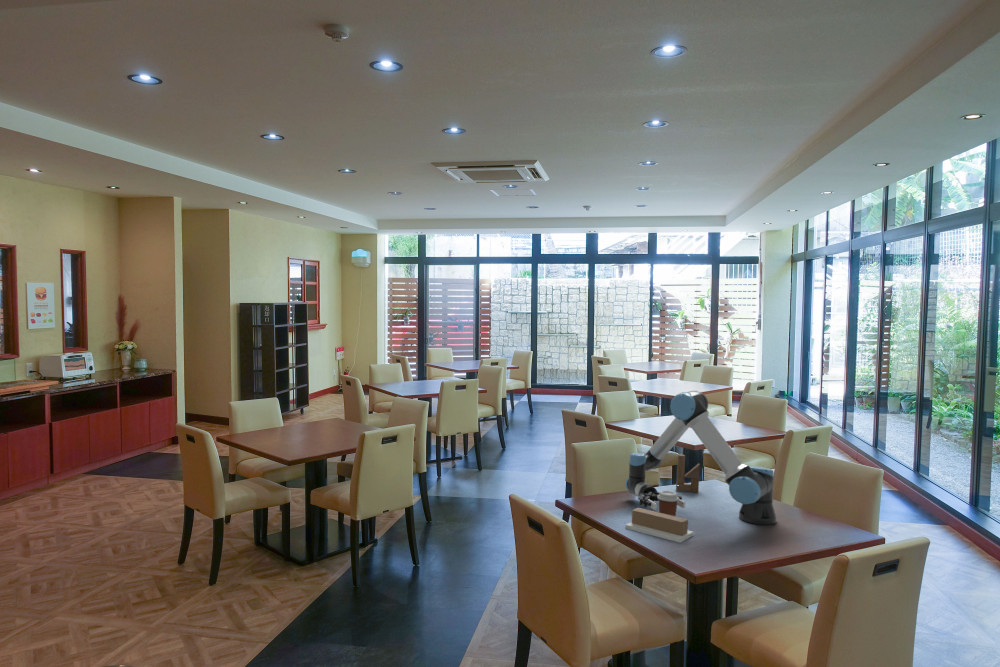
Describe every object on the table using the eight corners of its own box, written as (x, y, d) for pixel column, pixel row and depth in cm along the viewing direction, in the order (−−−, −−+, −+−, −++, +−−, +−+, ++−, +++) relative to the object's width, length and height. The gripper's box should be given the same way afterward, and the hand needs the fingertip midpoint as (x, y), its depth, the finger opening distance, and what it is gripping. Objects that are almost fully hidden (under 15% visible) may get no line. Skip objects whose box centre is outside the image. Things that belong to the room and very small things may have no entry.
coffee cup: (651, 518, 280) (652, 491, 280) (668, 516, 285) (669, 489, 284) (666, 525, 272) (667, 496, 272) (682, 522, 276) (683, 494, 276)
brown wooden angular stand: (698, 492, 324) (699, 457, 324) (676, 490, 327) (677, 455, 326) (698, 491, 328) (699, 455, 327) (676, 489, 330) (677, 453, 330)
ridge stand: (693, 535, 260) (693, 518, 260) (680, 542, 251) (681, 524, 251) (639, 521, 276) (639, 505, 276) (625, 528, 267) (625, 511, 266)
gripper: (670, 499, 300) (695, 513, 279) (621, 501, 293) (643, 516, 273) (671, 483, 300) (696, 496, 279) (621, 485, 293) (643, 498, 273)
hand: (670, 506), depth 276 cm, fingers open, 13 cm apart
